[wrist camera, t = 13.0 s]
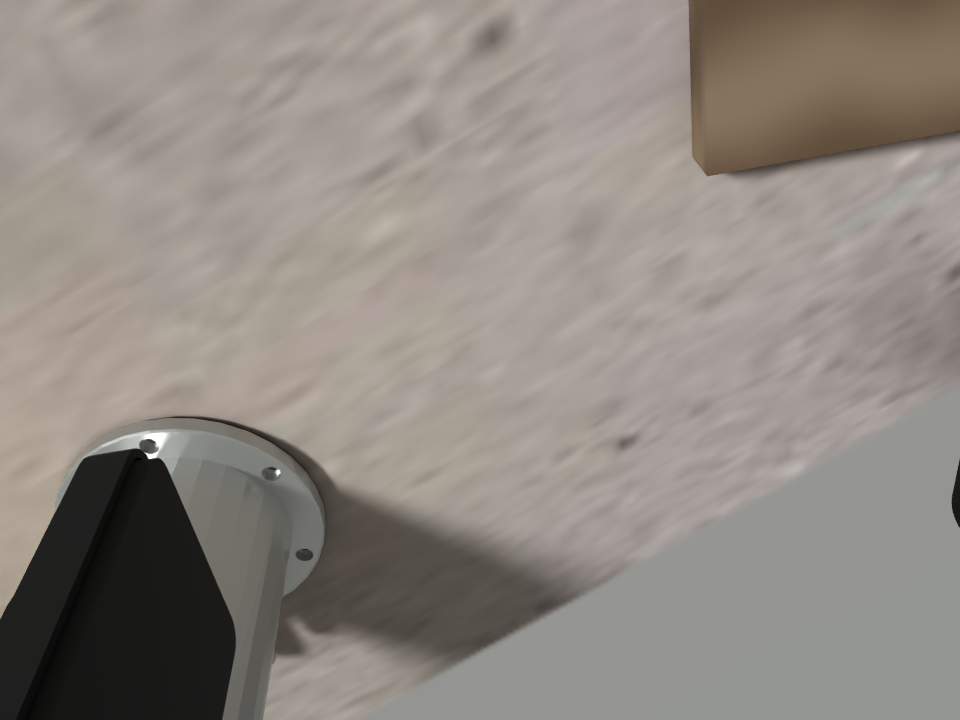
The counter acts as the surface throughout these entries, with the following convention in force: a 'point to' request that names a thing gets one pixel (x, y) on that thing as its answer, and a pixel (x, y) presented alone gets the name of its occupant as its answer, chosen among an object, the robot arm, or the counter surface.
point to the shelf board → (818, 77)
